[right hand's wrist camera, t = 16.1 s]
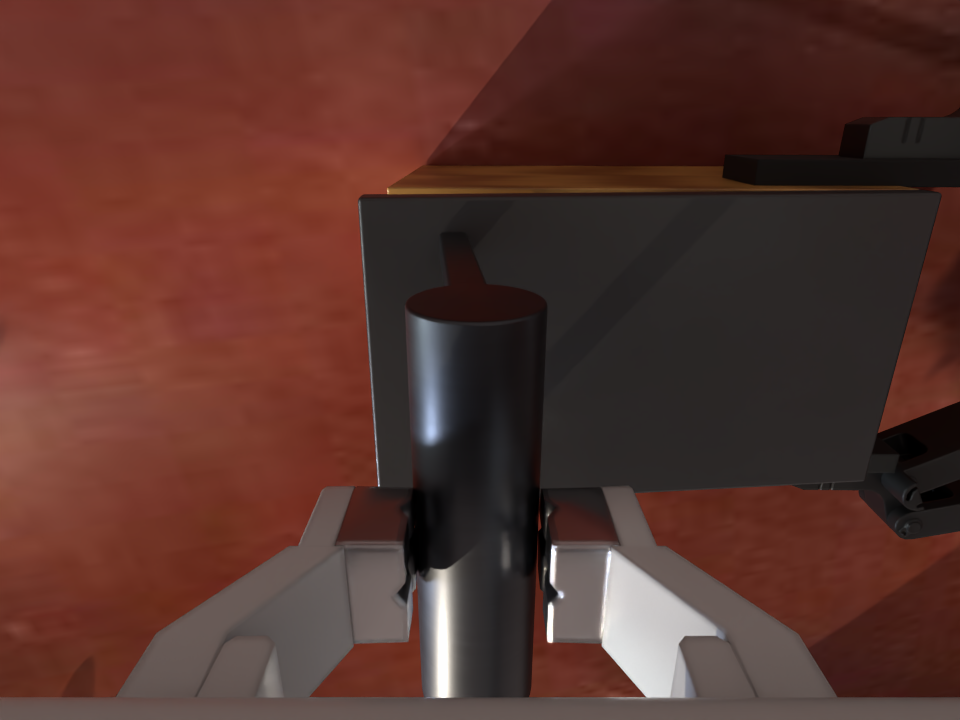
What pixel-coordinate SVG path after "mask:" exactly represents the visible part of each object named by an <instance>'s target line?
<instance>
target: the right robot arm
mask: <svg viewBox="0 0 960 720" xmlns="http://www.w3.org/2000/svg"><path fill="white" fill-rule="evenodd" d="M539 513H540V520H541V527H542V528H541V529H540V530H539V531H538V573H539V583H540V589H541V590H542V591H543V592H544V593H543V614H544V621H545V628H546V635H547V642H566V643H602V647H603V648H604V649H605V650H606V651H607V652H608V654H609V655H610V656H611V657H612V658H613V659H614V660H615V662H616V663H617V664H618V665H619V666H620V667H621V668H622V670H623V671H624V672H625V673H626V674H627V675H628V676H629V678H630V679H631V680H632V681H633V682H634V683H635V685H636V686H637V687H638V688H639V689H640V690H641V691H642V693H643V694H644V695H645V696H646V697H520V698H459V697H309V696H310V695H311V694H312V693H313V692H314V691H315V689H316V688H317V687H318V686H319V685H320V684H321V683H322V682H323V680H324V679H325V678H326V677H327V676H328V675H329V674H330V673H331V671H332V670H333V669H334V668H335V667H336V666H337V665H338V663H339V662H340V661H341V660H342V659H343V658H344V657H345V656H346V654H347V653H348V652H349V651H350V650H351V649H352V648H353V643H388V642H408V639H409V632H410V625H411V619H412V612H413V601H412V592H413V591H414V590H415V589H416V582H417V572H418V566H417V542H416V537H415V528H414V526H415V498H414V488H413V487H364V486H357V487H354V486H327V487H325V488H324V489H323V490H322V492H321V494H320V496H319V499H318V501H317V503H316V506H315V508H314V510H313V513H312V515H311V517H310V519H309V522H308V524H307V526H306V529H305V531H304V533H303V536H302V538H301V540H300V543H299V545H298V546H289V547H287V548H286V549H284V550H283V551H281V552H280V553H278V554H276V555H275V556H273V557H272V558H270V559H269V560H267V561H266V562H264V563H263V564H261V565H260V566H258V567H257V568H255V569H254V570H252V571H251V572H249V573H248V574H246V575H244V576H243V577H241V578H240V579H238V580H237V581H235V582H234V583H232V584H231V585H229V586H228V587H226V588H225V589H223V590H222V591H220V592H219V593H217V594H215V595H214V596H212V597H211V598H209V599H208V600H206V601H205V602H203V603H202V604H200V605H199V606H197V607H196V608H194V609H193V610H191V611H190V612H188V613H186V614H185V615H183V616H182V617H180V618H179V619H177V620H176V621H174V622H173V623H171V624H170V625H168V626H167V627H165V628H164V629H162V630H161V631H159V632H158V633H156V635H155V636H154V638H153V639H152V641H151V643H150V644H149V646H148V647H147V649H146V650H145V652H144V654H143V655H142V657H141V658H140V660H139V661H138V663H137V665H136V666H135V668H134V669H133V671H132V672H131V674H130V676H129V677H128V679H127V680H126V682H125V683H124V685H123V687H122V688H121V690H120V691H119V693H118V694H117V696H116V697H0V720H960V697H837V696H836V694H835V693H834V691H833V689H832V688H831V686H830V684H829V683H828V681H827V680H826V678H825V676H824V675H823V673H822V672H821V670H820V668H819V667H818V665H817V664H816V662H815V660H814V659H813V657H812V655H811V654H810V652H809V651H808V649H807V647H806V646H805V644H804V643H803V641H802V639H801V638H800V636H799V634H797V633H796V632H794V631H793V630H791V629H790V628H788V627H787V626H785V625H784V624H782V623H781V622H779V621H778V620H776V619H775V618H773V617H772V616H770V615H769V614H767V613H766V612H764V611H763V610H761V609H760V608H758V607H757V606H755V605H754V604H752V603H751V602H749V601H748V600H746V599H745V598H743V597H742V596H740V595H739V594H737V593H736V592H734V591H733V590H731V589H730V588H728V587H727V586H725V585H724V584H722V583H721V582H719V581H718V580H716V579H715V578H713V577H712V576H710V575H708V574H707V573H705V572H704V571H702V570H701V569H699V568H698V567H696V566H695V565H693V564H692V563H690V562H689V561H687V560H686V559H684V558H683V557H681V556H680V555H678V554H677V553H675V552H674V551H672V550H671V549H669V548H668V547H666V546H657V545H656V542H655V540H654V538H653V535H652V533H651V531H650V528H649V526H648V524H647V521H646V519H645V517H644V514H643V512H642V510H641V507H640V505H639V503H638V500H637V498H636V496H635V493H634V491H633V489H632V488H631V487H630V486H609V487H583V488H541V490H540V500H539Z"/></svg>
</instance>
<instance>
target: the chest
mask: <svg viewBox="0 0 960 720" xmlns="http://www.w3.org/2000/svg"><path fill="white" fill-rule="evenodd" d="M723 168H724V166H421V167H420V168H418V169H417V170H415V171H413V172H412V173H410V174H409V175H407V176H405V177H404V178H402V179H401V180H399V181H398V182H396V183H394V184H393V185H391V186H390V187H388V188H387V193H388V194H478V193H593V192H708V191H822V190H919V189H915V188H909V187H903V186H754V185H750V184H746V183H742V182H738V181H734V180H730V179H725V178H722V175H723Z"/></svg>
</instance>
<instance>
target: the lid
mask: <svg viewBox="0 0 960 720" xmlns="http://www.w3.org/2000/svg"><path fill="white" fill-rule="evenodd" d="M940 200H941V193H939V192H933V191H926V190H822V191H708V192H593V193H478V194H364V195H362V196H361V197H360V198H359V200H358V208H359V223H360V237H361V251H362V266H363V280H364V294H365V308H366V323H367V337H368V351H369V366H370V380H371V394H372V408H373V423H374V437H375V451H376V465H377V480H378V487H413V488H414V498H415V537H416V542H417V566H418V572H417V585H418V607H419V629H420V651H421V673H422V690H423V694H424V697H459V698H520V697H529V695H530V691H531V679H532V656H533V633H534V610H535V587H536V564H537V541H538V518H539V498H540V490H541V488H583V487H609V486H630V487H631V488H632V489H633V491H634V493H644V492H664V491H683V490H702V489H722V488H741V487H760V486H780V485H799V484H819V483H838V482H857V481H864V480H865V478H866V474H867V470H868V466H869V463H870V459H871V455H872V452H873V448H874V444H875V441H876V437H877V433H878V429H879V426H880V422H881V418H882V415H883V411H884V407H885V403H886V400H887V396H888V392H889V389H890V385H891V381H892V378H893V374H894V370H895V366H896V363H897V359H898V355H899V352H900V348H901V344H902V341H903V337H904V333H905V329H906V326H907V322H908V318H909V315H910V311H911V307H912V303H913V300H914V296H915V292H916V289H917V285H918V281H919V278H920V274H921V270H922V266H923V263H924V259H925V255H926V252H927V248H928V244H929V240H930V237H931V233H932V229H933V226H934V222H935V218H936V215H937V211H938V207H939V203H940Z"/></svg>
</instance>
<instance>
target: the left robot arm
mask: <svg viewBox="0 0 960 720" xmlns="http://www.w3.org/2000/svg"><path fill="white" fill-rule="evenodd" d="M722 178H725V179H730V180H734V181H738V182H742V183H746V184H750V185H754V186H903V187H960V108H959V109H958V110H957V111H955V112H954V113H952V114H950V115H948V116H945V117H865V118H860V119H858V120H855V121H852V122H850V123H847V124H845V127H844V132H843V137H842V142H841V147H840V152H839V155H725V161H724V168H723V175H722ZM793 486H795V487H798V488H801V489H803V490H818V489H820V490H829V489H831V490H859V496H860V497H861V498H862V499H863V500H864V501H865V502H866V503H867V505H868V506H869V507H870V508H871V509H872V510H873V511H874V512H875V513H876V514H877V515H878V516H879V517H880V518H881V519H882V520H883V521H884V522H885V523H886V524H887V525H888V526H889V527H890V528H891V529H892V530H893V531H894V532H895V533H896V534H897V535H898V536H899V537H900V538H903V539H916V538H922V537H928V536H934V535H940V534H946V533H952V532H958V531H960V402H957V403H955V404H952V405H950V406H947V407H944V408H942V409H939V410H937V411H934V412H932V413H929V414H926V415H924V416H921V417H919V418H916V419H913V420H911V421H908V422H906V423H903V424H901V425H898V426H895V427H893V428H890V429H888V430H885V431H883V432H880V433H877V437H876V441H875V444H874V448H873V452H872V455H871V459H870V463H869V466H868V470H867V474H866V478H865V480H864V481H857V482H838V483H819V484H799V485H793Z"/></svg>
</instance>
